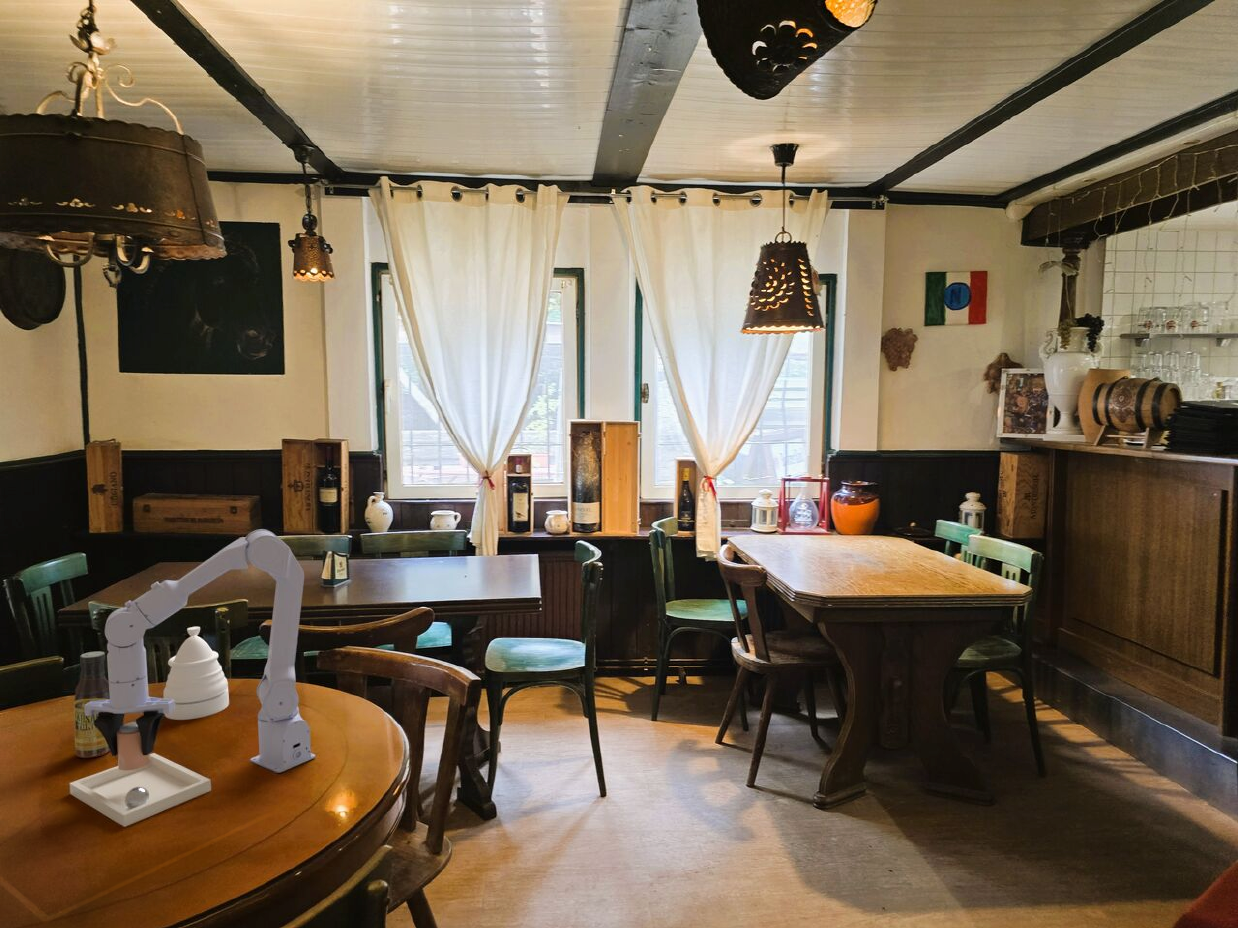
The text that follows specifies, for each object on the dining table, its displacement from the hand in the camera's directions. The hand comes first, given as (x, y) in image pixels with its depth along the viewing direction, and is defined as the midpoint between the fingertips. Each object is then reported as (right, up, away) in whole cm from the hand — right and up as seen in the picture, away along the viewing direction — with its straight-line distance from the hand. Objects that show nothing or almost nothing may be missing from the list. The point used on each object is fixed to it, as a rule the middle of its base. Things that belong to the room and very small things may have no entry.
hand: (132, 753), depth 137 cm
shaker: (0, -2, 0) cm, 2 cm away
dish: (+2, -7, -1) cm, 7 cm away
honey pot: (-10, -5, +39) cm, 41 cm away
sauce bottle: (-18, -6, +17) cm, 25 cm away
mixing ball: (+5, -7, -6) cm, 10 cm away
